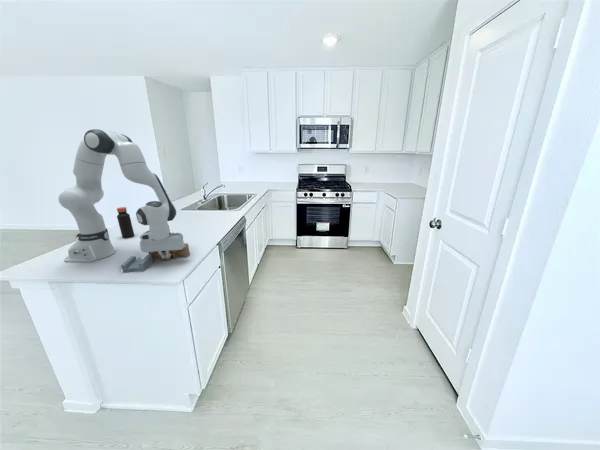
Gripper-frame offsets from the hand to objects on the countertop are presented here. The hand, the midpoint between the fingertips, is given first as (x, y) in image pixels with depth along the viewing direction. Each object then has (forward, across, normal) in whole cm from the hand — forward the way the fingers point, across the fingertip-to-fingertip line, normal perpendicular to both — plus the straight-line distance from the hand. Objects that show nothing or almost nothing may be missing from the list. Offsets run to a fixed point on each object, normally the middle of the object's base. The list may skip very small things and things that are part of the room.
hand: (165, 257), depth 128 cm
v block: (+2, +12, +4) cm, 13 cm away
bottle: (+2, +38, -44) cm, 58 cm away
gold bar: (+2, 0, -7) cm, 7 cm away
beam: (+2, 0, -6) cm, 7 cm away
